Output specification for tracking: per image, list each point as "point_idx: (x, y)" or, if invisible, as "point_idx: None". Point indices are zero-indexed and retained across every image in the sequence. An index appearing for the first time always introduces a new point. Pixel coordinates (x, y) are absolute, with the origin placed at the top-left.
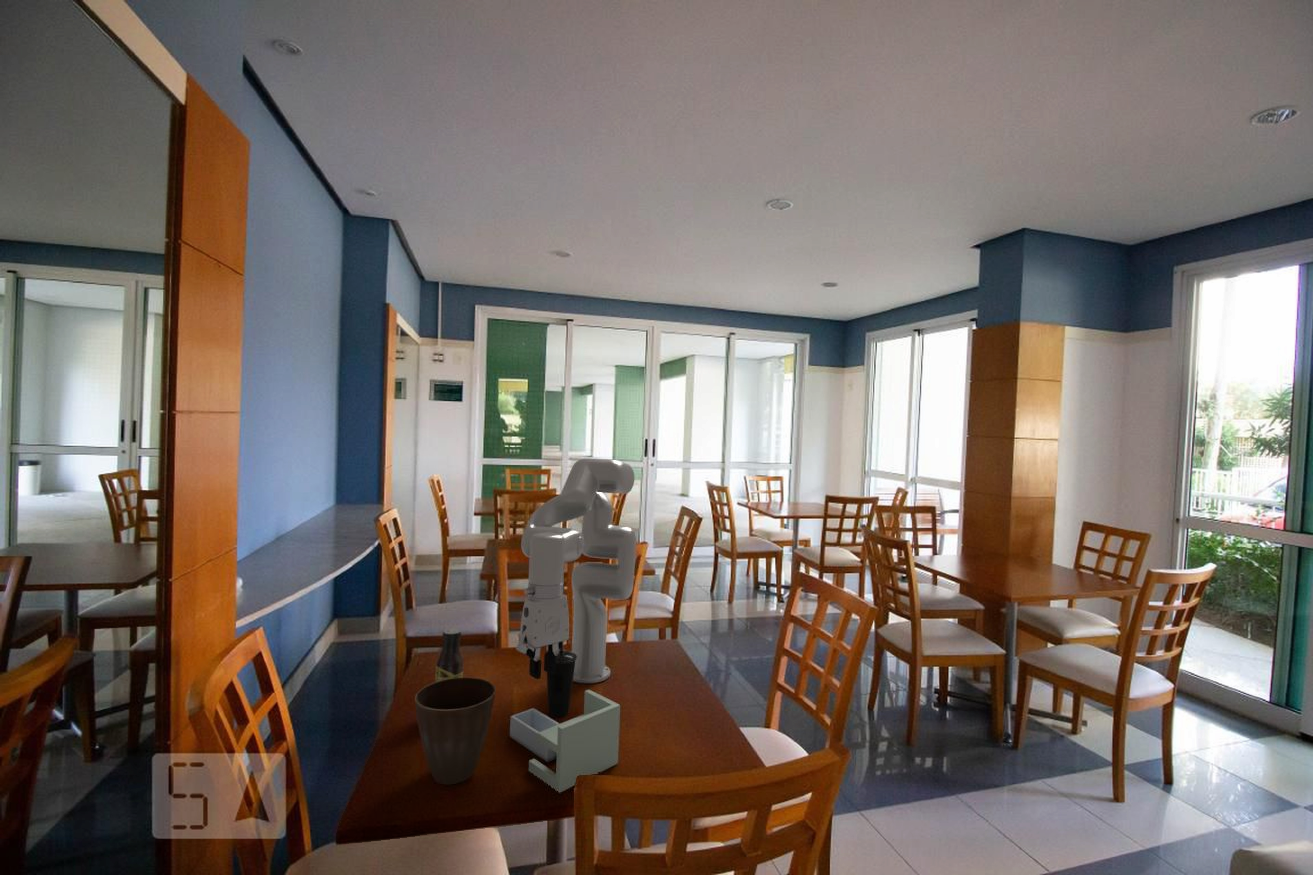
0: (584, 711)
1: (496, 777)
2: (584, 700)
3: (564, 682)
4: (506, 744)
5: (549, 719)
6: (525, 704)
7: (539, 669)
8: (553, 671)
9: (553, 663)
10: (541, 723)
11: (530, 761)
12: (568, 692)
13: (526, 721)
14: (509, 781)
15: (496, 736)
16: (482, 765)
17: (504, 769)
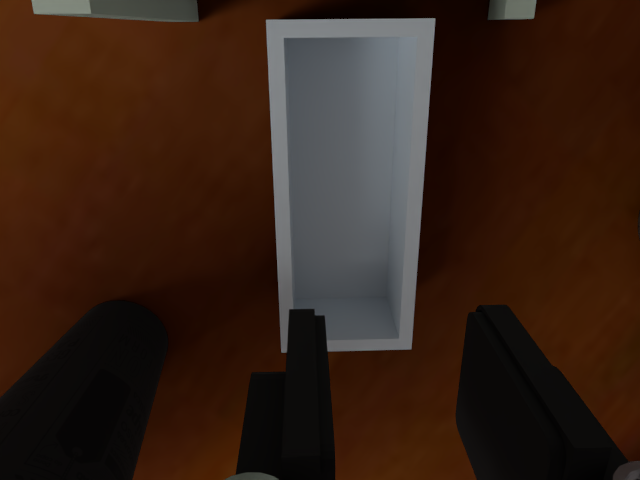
0: (148, 10)
1: (633, 72)
2: (123, 13)
3: (63, 397)
4: (441, 260)
5: (287, 210)
6: (202, 458)
7: (538, 359)
8: (309, 319)
9: (314, 381)
10: (292, 253)
11: (534, 6)
12: (58, 356)
13: (326, 315)
14: (623, 4)
15: (430, 331)
16: (604, 188)
17: (571, 103)
